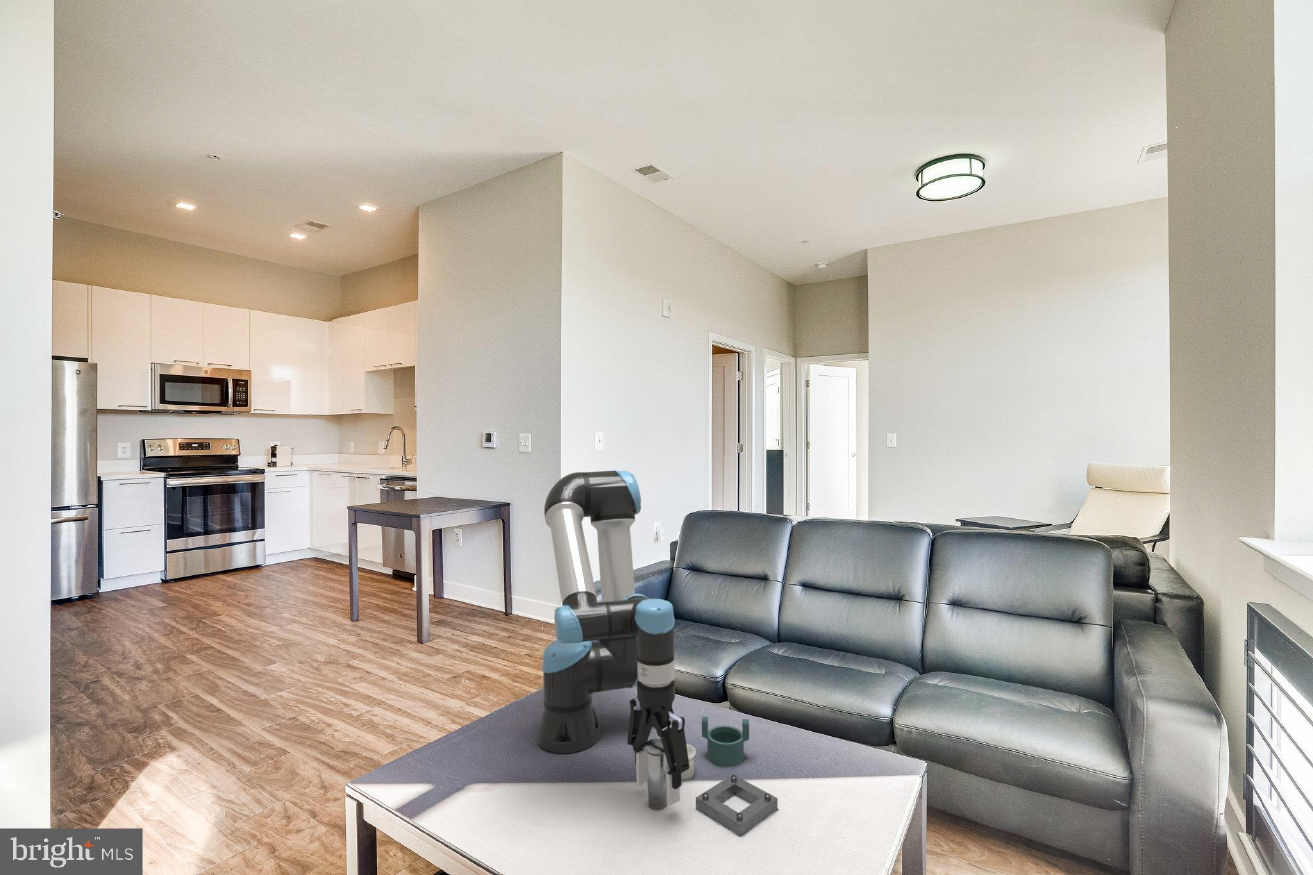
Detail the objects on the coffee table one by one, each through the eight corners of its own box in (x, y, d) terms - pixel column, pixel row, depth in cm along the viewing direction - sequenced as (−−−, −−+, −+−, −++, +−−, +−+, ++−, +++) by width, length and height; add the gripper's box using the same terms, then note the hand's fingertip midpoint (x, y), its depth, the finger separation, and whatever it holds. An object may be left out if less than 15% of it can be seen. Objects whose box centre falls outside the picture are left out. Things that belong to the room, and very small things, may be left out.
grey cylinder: (641, 803, 122) (640, 744, 122) (658, 793, 126) (657, 735, 125) (657, 814, 119) (656, 753, 119) (674, 803, 122) (673, 744, 122)
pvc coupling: (663, 773, 133) (663, 750, 133) (682, 762, 137) (682, 740, 137) (682, 784, 129) (682, 761, 128) (701, 773, 133) (701, 750, 132)
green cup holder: (753, 759, 138) (752, 720, 138) (720, 771, 133) (719, 731, 133) (729, 742, 145) (728, 704, 145) (696, 753, 141) (696, 714, 141)
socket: (696, 808, 121) (695, 794, 121) (733, 784, 128) (733, 771, 128) (740, 836, 112) (740, 821, 112) (777, 809, 120) (777, 795, 120)
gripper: (608, 670, 127) (610, 777, 127) (680, 703, 111) (681, 825, 112) (635, 660, 132) (637, 763, 133) (708, 690, 116) (709, 807, 117)
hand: (657, 792), depth 122 cm, fingers open, 8 cm apart
